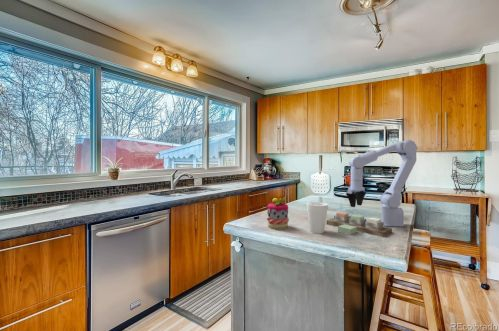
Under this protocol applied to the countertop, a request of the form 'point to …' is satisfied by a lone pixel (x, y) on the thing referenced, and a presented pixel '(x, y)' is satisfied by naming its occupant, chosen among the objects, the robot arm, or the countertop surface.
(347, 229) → the block
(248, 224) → the countertop surface
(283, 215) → the cake
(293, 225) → the countertop surface
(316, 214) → the foam cup
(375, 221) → the cream button
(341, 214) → the terracotta button
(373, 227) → the button console
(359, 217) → the sage button
